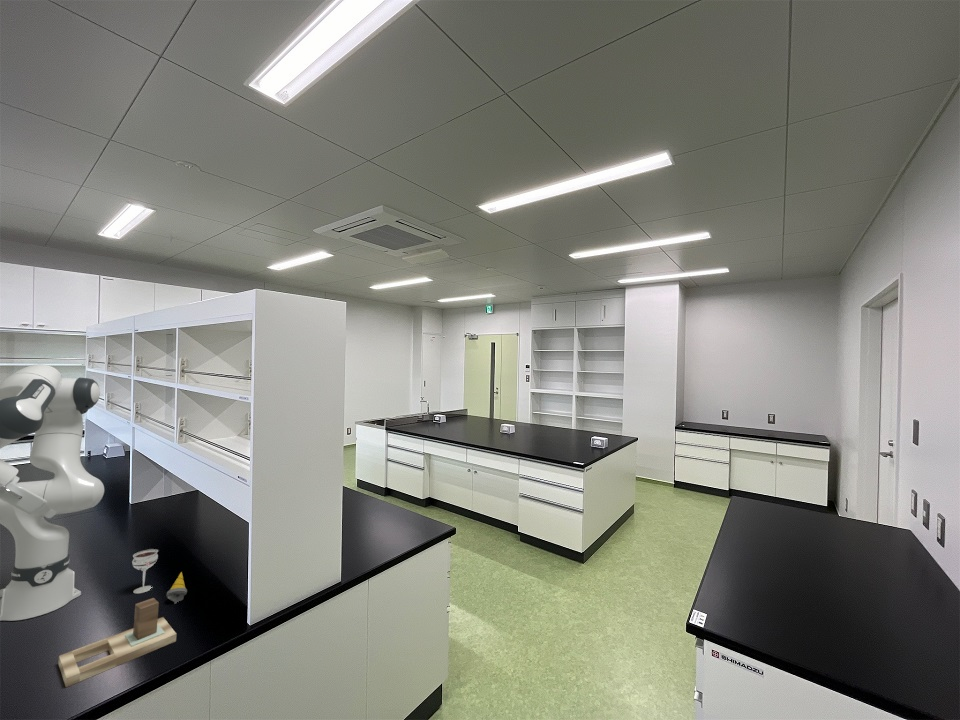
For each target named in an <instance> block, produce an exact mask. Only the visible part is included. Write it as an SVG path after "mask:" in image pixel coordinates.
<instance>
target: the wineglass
mask: <svg viewBox="0 0 960 720" xmlns="http://www.w3.org/2000/svg"><path fill="white" fill-rule="evenodd" d="M158 552H159V549H156V548H155V549H154V548H149V549H145V550H140V551H138V552H136V553H134V554H132V557H133V559H132V561H131V563H132V564H131V565H132V567H133V568H134V569H136V570H138V571H141V572H142V586H140V587H138V588H135V589H134V590H133V593H134V594H143V593H145V592H146V593H147V592H148V591H151V590H152V589H153V586H152V585H145V581H146V574H147V573H146V572H147V570H148V569H149V568H151V567H153V566H154V564H156V562H157V561H158V559H159V554H158ZM151 586H152V587H151ZM151 588H152V589H151ZM150 589H151V590H150Z"/></svg>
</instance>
